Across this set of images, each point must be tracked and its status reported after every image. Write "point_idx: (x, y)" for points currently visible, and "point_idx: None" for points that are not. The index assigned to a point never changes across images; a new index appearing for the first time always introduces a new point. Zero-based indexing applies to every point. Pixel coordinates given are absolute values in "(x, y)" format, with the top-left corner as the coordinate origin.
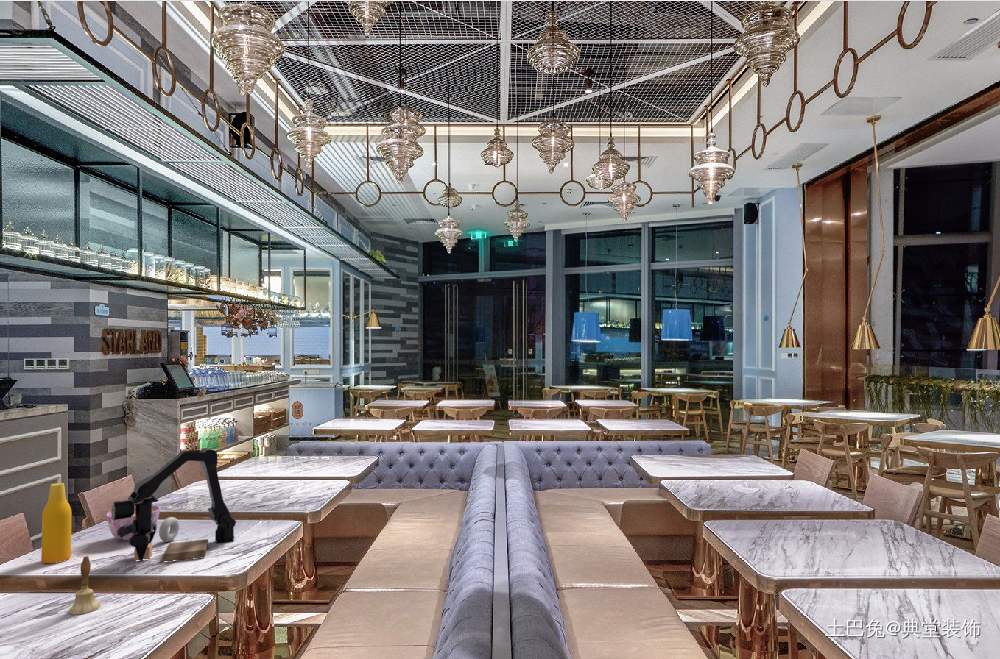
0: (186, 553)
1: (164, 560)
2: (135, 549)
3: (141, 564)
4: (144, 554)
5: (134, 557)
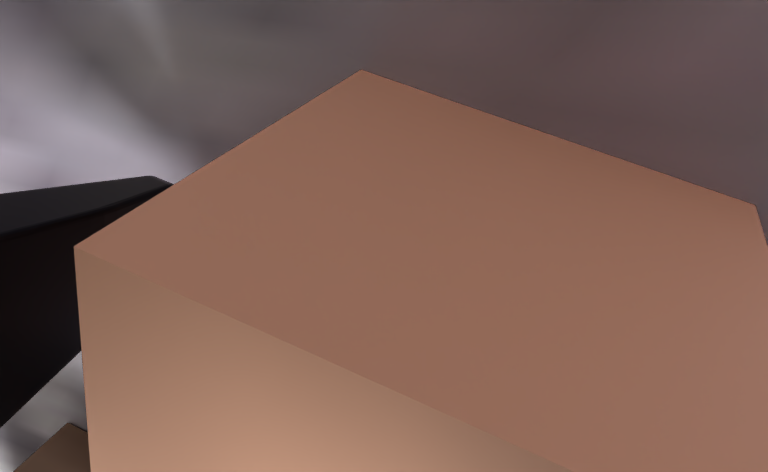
0: None
1: (42, 455)
2: (109, 258)
3: (94, 165)
4: (58, 340)
5: (302, 106)
